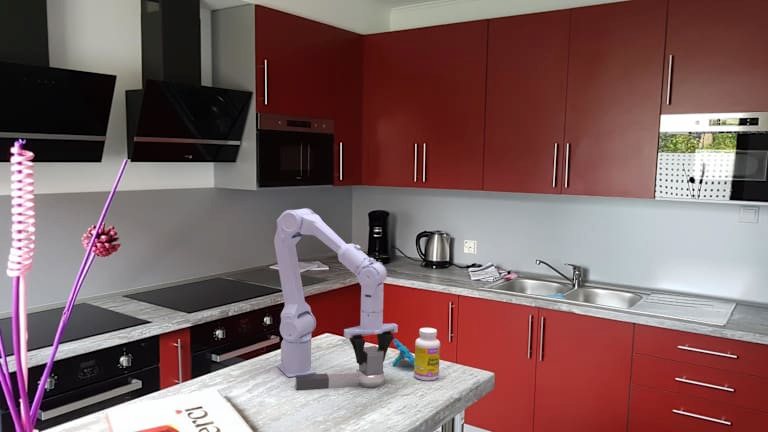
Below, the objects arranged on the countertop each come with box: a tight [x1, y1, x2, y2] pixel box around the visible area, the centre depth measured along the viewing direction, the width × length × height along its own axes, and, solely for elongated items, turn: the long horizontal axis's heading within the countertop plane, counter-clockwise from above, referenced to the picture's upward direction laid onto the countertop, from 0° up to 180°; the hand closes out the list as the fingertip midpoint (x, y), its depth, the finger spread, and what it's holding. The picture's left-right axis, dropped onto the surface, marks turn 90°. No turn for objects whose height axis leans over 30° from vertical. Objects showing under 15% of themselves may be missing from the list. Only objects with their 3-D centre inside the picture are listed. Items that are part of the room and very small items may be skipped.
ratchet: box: [295, 369, 385, 391], centre depth 148 cm, size 10×22×6 cm, turn 118°
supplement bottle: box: [413, 327, 441, 381], centre depth 156 cm, size 7×7×13 cm
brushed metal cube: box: [358, 345, 384, 376], centre depth 150 cm, size 5×5×6 cm
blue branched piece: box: [392, 338, 415, 367], centre depth 165 cm, size 11×6×10 cm
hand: (370, 362), depth 150 cm, fingers open, 6 cm apart
